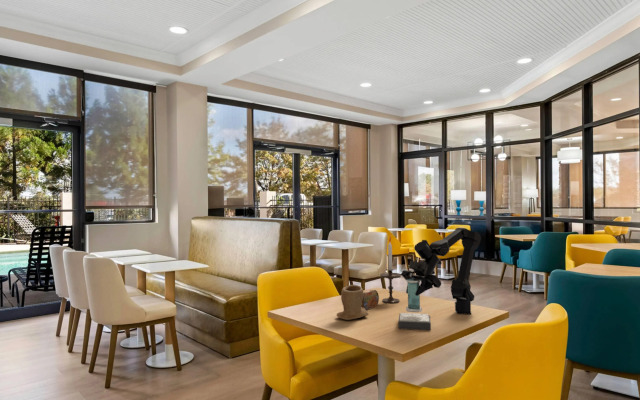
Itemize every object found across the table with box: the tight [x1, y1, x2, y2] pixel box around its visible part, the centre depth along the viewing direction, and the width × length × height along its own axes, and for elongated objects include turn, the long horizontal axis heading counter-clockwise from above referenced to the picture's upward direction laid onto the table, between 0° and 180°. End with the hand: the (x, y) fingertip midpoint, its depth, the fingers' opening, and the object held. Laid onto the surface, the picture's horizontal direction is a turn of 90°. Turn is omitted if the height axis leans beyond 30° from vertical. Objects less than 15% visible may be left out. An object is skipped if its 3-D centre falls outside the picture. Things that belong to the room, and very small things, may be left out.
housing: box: [405, 279, 423, 313], centre depth 180 cm, size 7×7×13 cm
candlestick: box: [379, 236, 402, 305], centre depth 224 cm, size 11×11×35 cm
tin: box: [361, 289, 380, 311], centre depth 211 cm, size 15×3×8 cm, turn 143°
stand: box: [398, 312, 432, 331], centre depth 179 cm, size 13×13×4 cm
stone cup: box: [336, 284, 369, 321], centre depth 192 cm, size 15×12×15 cm
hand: (411, 294), depth 179 cm, fingers closed on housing, 5 cm apart
